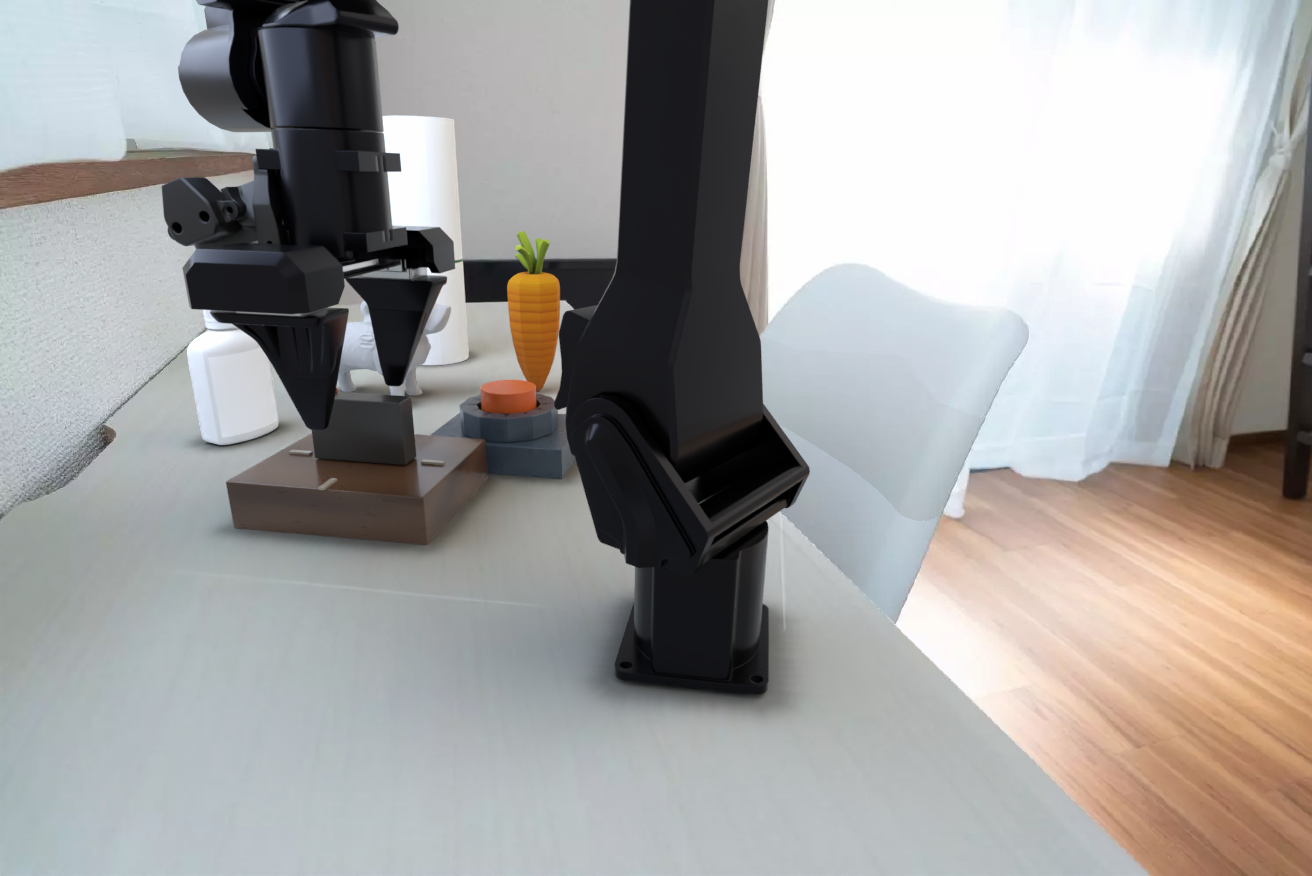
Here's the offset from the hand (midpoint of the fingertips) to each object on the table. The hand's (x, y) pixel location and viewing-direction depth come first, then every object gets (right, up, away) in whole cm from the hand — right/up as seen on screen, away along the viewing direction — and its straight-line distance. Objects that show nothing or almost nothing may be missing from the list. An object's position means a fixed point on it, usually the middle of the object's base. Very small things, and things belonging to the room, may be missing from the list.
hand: (359, 405), depth 46 cm
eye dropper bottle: (-15, -2, +13) cm, 20 cm away
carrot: (+7, +2, +27) cm, 28 cm away
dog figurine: (-7, +2, +24) cm, 25 cm away
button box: (+7, -3, +11) cm, 13 cm away
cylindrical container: (-7, +7, +39) cm, 40 cm away
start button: (+7, 0, +9) cm, 12 cm away
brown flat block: (0, -6, +2) cm, 7 cm away
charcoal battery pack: (0, -3, +1) cm, 3 cm away
